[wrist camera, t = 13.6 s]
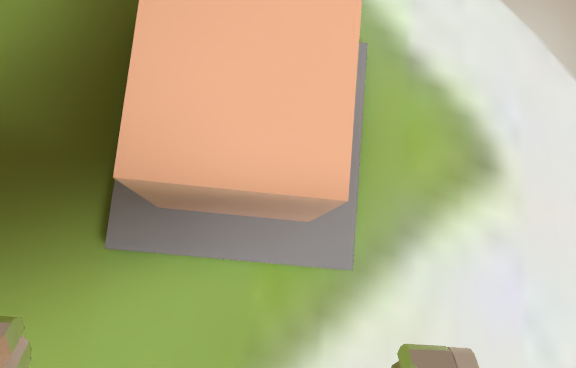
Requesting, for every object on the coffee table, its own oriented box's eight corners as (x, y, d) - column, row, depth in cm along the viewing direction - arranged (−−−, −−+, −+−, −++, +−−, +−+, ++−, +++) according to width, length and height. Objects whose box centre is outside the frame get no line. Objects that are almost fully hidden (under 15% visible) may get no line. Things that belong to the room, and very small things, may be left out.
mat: (107, 248, 22) (104, 248, 21) (141, 18, 23) (139, 13, 23) (350, 270, 23) (352, 270, 22) (364, 47, 24) (367, 43, 24)
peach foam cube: (157, 207, 22) (112, 177, 14) (176, 63, 23) (145, -41, 15) (309, 221, 22) (348, 201, 14) (320, 80, 23) (362, -11, 16)
